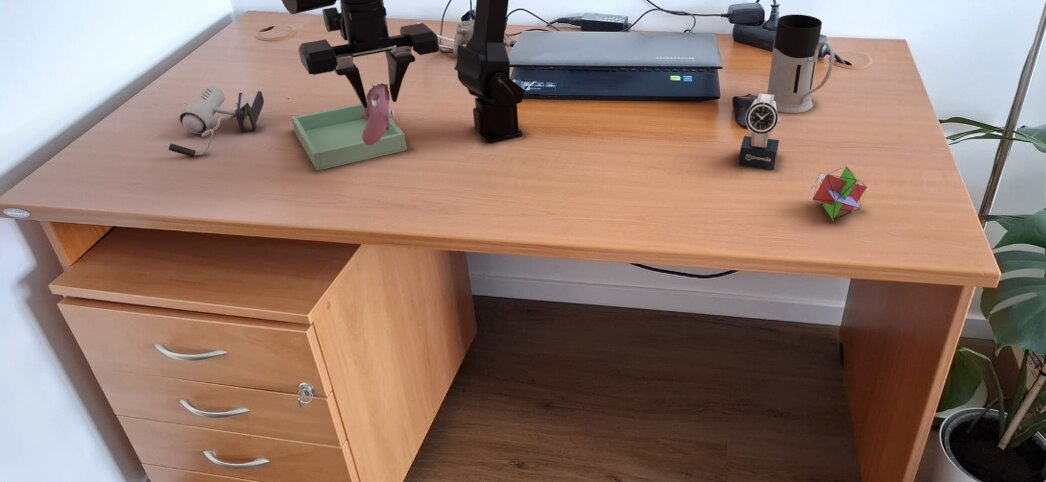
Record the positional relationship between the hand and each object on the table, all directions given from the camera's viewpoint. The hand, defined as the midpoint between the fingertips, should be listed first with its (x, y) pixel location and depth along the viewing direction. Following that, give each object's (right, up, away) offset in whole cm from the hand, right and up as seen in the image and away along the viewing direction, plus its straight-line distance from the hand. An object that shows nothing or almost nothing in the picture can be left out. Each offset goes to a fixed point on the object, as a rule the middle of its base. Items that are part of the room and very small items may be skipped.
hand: (379, 104), depth 121 cm
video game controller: (+1, -3, 0) cm, 4 cm away
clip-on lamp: (-32, -2, +17) cm, 36 cm away
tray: (-9, -3, +15) cm, 18 cm away
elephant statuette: (+9, +20, +48) cm, 52 cm away
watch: (+58, -7, +9) cm, 59 cm away
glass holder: (+68, +4, +26) cm, 73 cm away
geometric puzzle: (+67, -17, -4) cm, 69 cm away
